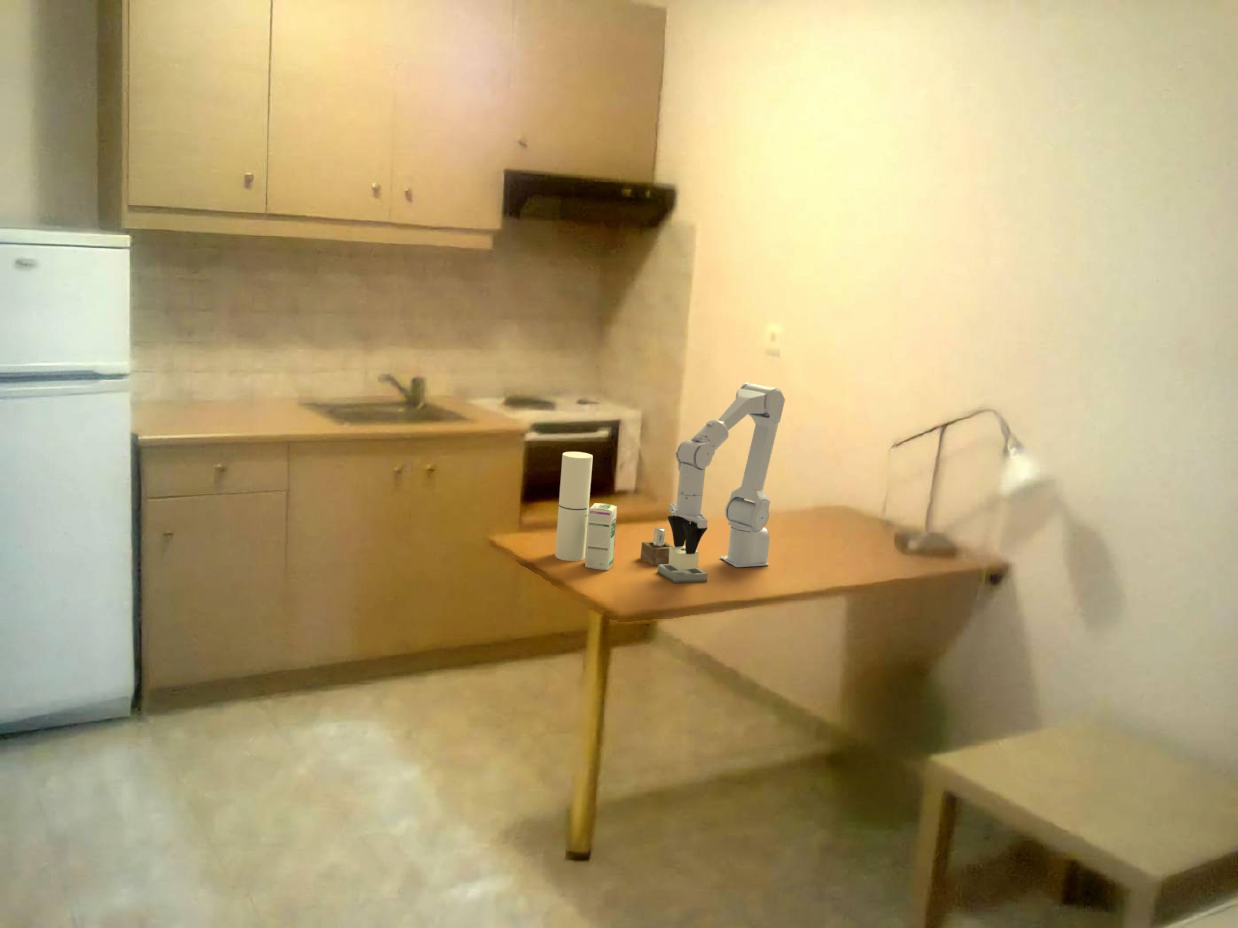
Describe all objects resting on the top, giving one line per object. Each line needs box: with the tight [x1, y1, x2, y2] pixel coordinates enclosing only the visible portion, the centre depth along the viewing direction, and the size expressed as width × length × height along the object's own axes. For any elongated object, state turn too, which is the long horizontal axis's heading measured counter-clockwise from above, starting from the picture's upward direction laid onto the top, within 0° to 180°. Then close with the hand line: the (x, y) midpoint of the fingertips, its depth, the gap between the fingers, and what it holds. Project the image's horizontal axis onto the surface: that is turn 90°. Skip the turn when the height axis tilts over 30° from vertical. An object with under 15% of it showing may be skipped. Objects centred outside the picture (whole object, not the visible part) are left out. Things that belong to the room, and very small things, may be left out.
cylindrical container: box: [554, 451, 594, 562], centre depth 255 cm, size 7×7×25 cm
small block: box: [669, 545, 700, 571], centre depth 248 cm, size 5×5×4 cm
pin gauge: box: [652, 527, 666, 548], centre depth 259 cm, size 3×3×8 cm
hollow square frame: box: [640, 540, 674, 566], centre depth 259 cm, size 6×6×4 cm
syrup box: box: [584, 502, 618, 571], centre depth 251 cm, size 6×6×14 cm
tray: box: [657, 564, 708, 584], centre depth 249 cm, size 8×8×2 cm
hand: (684, 549), depth 248 cm, fingers closed on small block, 5 cm apart
